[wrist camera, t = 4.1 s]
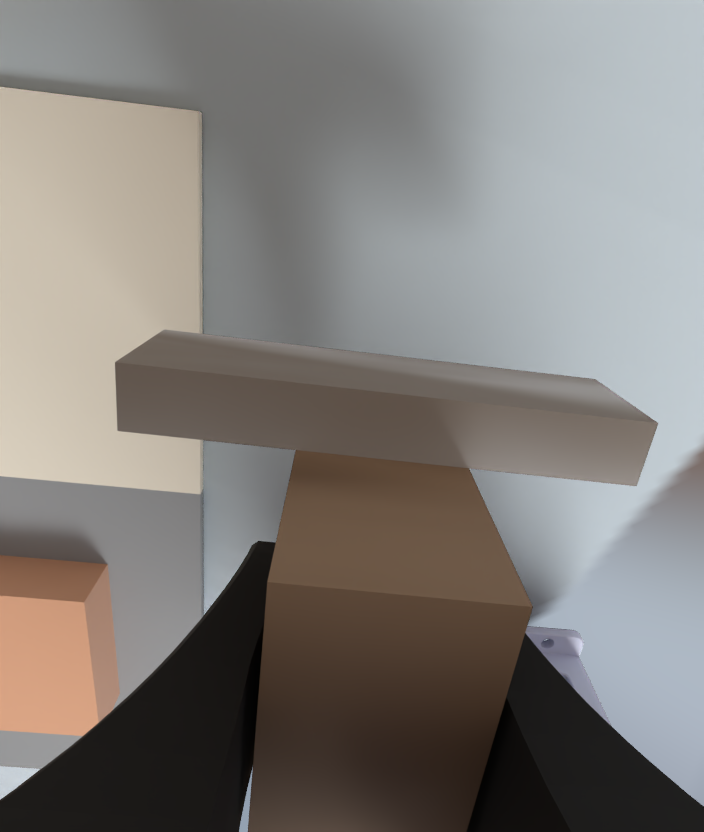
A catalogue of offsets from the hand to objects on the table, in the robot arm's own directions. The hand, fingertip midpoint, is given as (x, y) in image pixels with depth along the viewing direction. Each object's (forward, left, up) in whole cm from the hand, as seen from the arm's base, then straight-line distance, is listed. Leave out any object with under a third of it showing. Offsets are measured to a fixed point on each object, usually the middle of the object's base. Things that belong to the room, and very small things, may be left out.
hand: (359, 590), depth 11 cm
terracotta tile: (+12, +10, -8) cm, 18 cm away
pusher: (0, 0, -2) cm, 2 cm away
